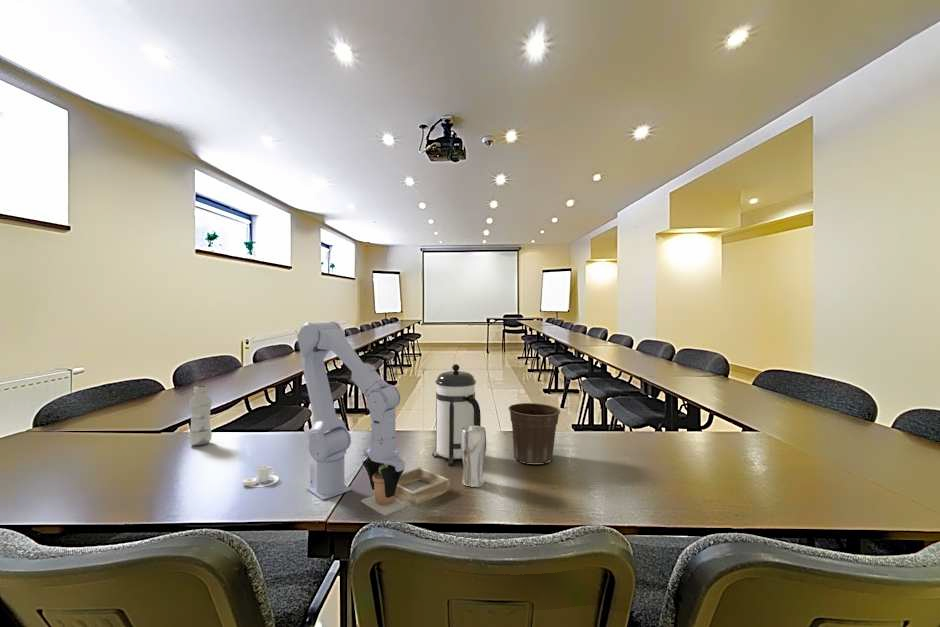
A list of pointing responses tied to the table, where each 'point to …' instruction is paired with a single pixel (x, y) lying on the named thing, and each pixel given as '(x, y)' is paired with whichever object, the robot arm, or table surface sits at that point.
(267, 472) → the teacup and saucer
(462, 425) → the coffee press
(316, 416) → the robot arm
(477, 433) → the silver drink can
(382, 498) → the terracotta pot
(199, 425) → the plastic bottle
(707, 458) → the table surface
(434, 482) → the frame
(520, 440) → the plant pot
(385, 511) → the grey mat
